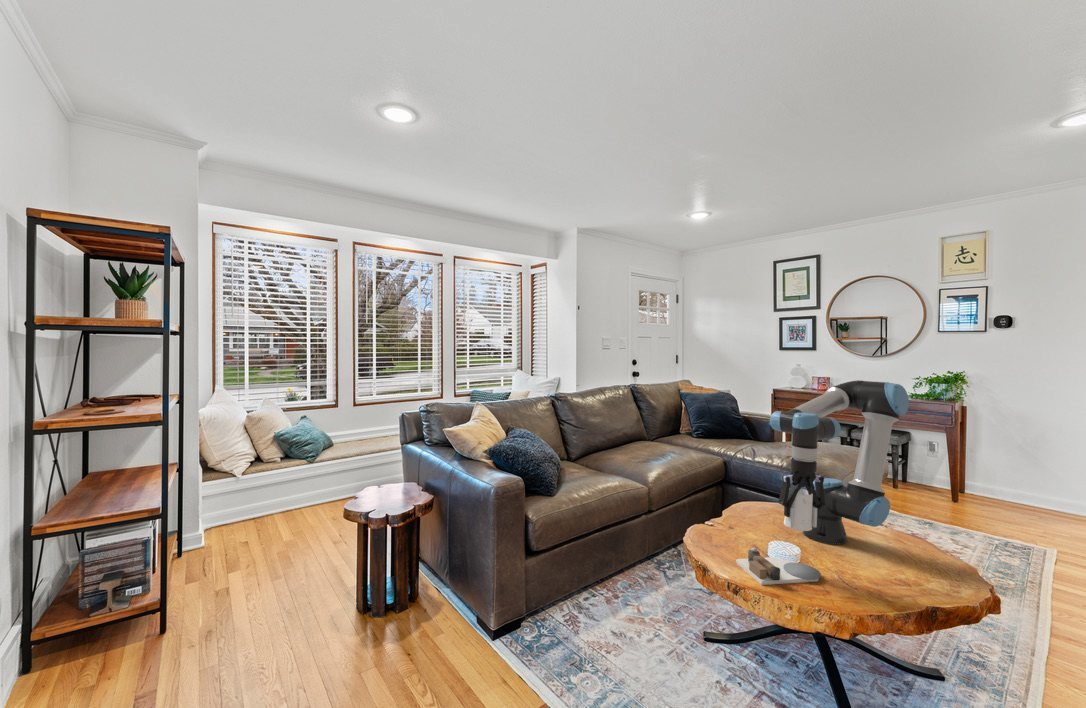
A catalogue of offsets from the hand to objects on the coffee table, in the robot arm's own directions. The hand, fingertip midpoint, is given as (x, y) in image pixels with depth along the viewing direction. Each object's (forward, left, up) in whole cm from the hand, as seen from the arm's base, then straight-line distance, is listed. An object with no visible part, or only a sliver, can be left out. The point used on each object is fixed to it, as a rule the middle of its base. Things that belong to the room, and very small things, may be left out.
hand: (800, 525), depth 157 cm
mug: (+1, 0, -1) cm, 1 cm away
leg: (+13, 0, -14) cm, 19 cm away
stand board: (+6, -1, -16) cm, 17 cm away
